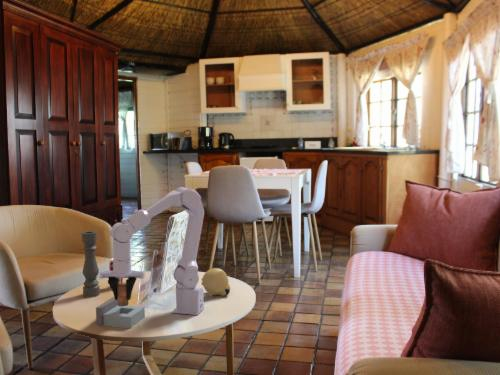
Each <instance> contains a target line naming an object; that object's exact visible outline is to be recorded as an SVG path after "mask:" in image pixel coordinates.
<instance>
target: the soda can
mask: <svg viewBox="0 0 500 375" xmlns="http://www.w3.org/2000/svg"><path fill="white" fill-rule="evenodd" d="M109 260H110V261H109V262H108V263H109V265H108V266H109V271H113V257H112V258H110V259H109ZM119 283H124V278H119ZM109 288H110V289H111V287H110V286H109Z"/></svg>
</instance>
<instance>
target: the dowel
mask: <svg viewBox="0 0 500 375" xmlns="http://www.w3.org/2000/svg"><path fill="white" fill-rule="evenodd" d="M117 296H118V306H129V300H127V285H126V282H123V283H119V284H117Z"/></svg>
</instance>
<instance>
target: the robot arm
mask: <svg viewBox="0 0 500 375" xmlns="http://www.w3.org/2000/svg"><path fill="white" fill-rule="evenodd" d="M171 207H182V209H184V211H185V212H186V213H187V214H188V216H187V217H188V218H187V222H186V223H187V224H186V229H185V235H184V240H183V246H182V253H181V258H180V259H179V260H178V261H177V265H176V267H175V269H174V270H173V274H172V276H173V279H174V280H175V281H176V284H175V308H174V309H173V311H172V312H171V313H172V314H181V315H193V316H198V315H199V314H200V313H201V312H202V311H203V309H205V306H204V304H205V303H204V301H205V300H204V287H201V286H198V283H199V280H200V279H199V266H198V263H197V257H198V251H199V247H200V241H201V240H200V239H201V234H202V229H203V222H204V218H205V209H204V206H203V202H202V196H201V195H200V194H199V192H197V190H196V189H193V188H187V187H184V186H178V187H177V188H176V189H175V190H172V191H170V192H169V193H167V194H166V195H164V196H163V197H162V198H161V199H159V200H158V201H156V202H155V203H154V204H152V205H151V206H150V207H148V208H146V209H138V210H137V209H136V210H134V211H133V214H131V215H130V216H128V217H126V218H122V219H121V220H120V221H121V222H116V223H114V225H112V227H111V229H110V231H109V233H110V236H111V238H112V258H113V271H110V270H105V271H104V270H102V271H99V279H108V280H107V283H108V285H109V288H110V287H111V288H110V289H111V292H112V293H113V297H115V300H117V299H118V296H117V284H119V278H123V279H126V280H125V283H126V285H127V300H128V301H130V300H131V299H132V292H133V288H134V287H135V283H136V281H137V279H144V278H145V277H146V276H145V275H146V274H145V271H142V270H141V271H140V270H133V269H132V259H131V258H132V257H131V256H132V255H131V252H132V250H131V239H132V238H133V235H135V234H136V233H138V232H139V231H141V230H142V229H143V228H145V227H147V226H148V225H150V223H151V220H152V218H154V217H156V216H157V215H159V214H161V213H162V212H163V211H165V210H167V209H169V208H171Z"/></svg>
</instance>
